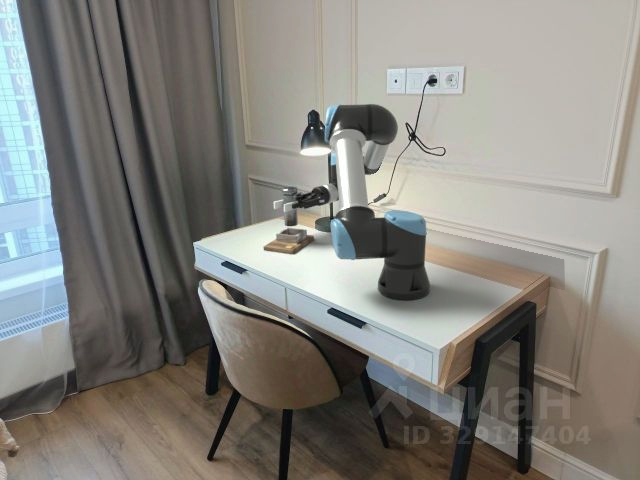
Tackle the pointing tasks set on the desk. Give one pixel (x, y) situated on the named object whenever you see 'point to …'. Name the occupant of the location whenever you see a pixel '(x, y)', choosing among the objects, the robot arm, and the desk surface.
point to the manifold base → (289, 241)
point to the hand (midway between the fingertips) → (279, 206)
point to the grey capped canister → (289, 197)
